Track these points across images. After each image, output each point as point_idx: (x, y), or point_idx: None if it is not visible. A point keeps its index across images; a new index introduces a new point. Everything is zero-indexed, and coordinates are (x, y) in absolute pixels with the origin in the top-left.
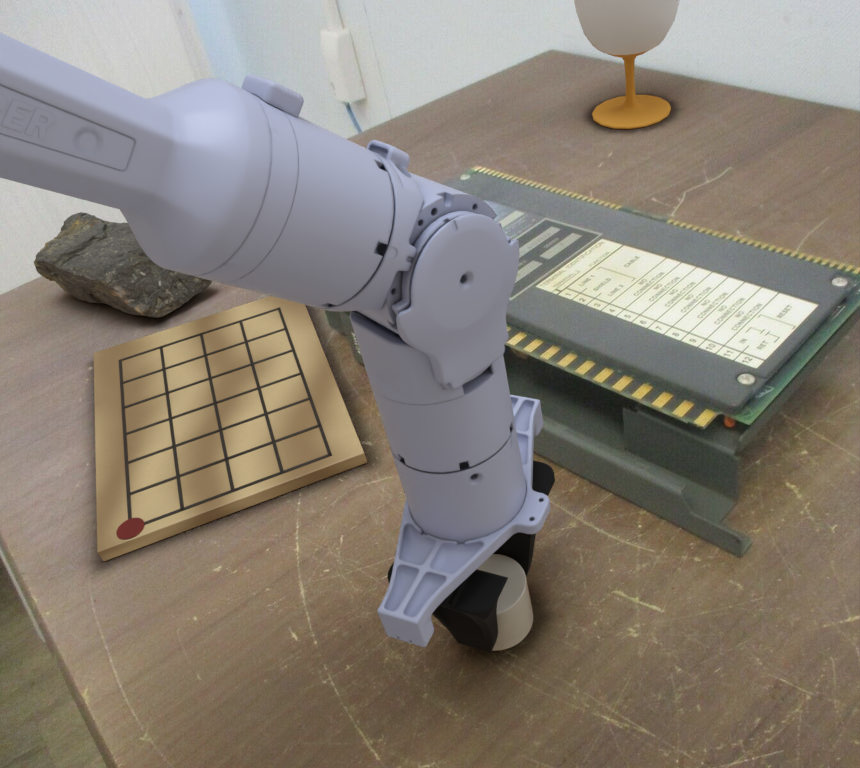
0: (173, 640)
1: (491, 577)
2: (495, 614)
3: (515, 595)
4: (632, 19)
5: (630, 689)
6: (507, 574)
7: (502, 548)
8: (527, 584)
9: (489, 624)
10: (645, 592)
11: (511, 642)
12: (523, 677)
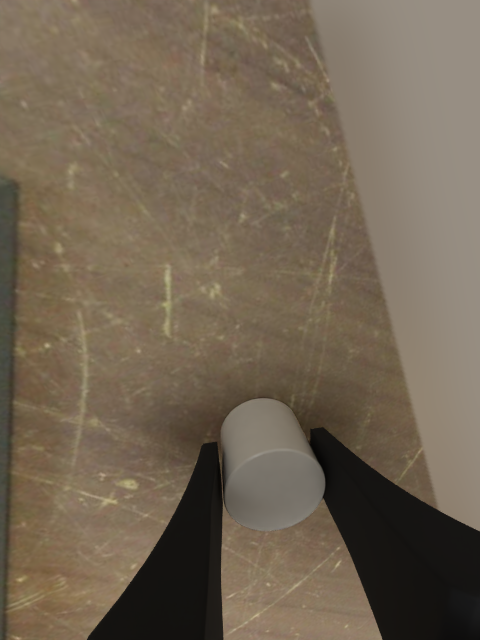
0: (368, 624)
1: (477, 624)
2: (356, 479)
3: (282, 457)
4: None
5: (289, 264)
6: (253, 481)
7: (218, 511)
8: (244, 445)
9: (384, 481)
10: (151, 297)
11: (287, 409)
12: (313, 377)
